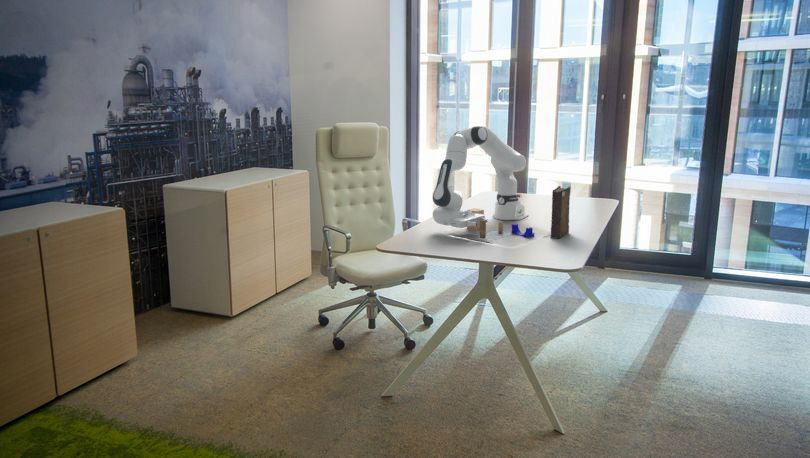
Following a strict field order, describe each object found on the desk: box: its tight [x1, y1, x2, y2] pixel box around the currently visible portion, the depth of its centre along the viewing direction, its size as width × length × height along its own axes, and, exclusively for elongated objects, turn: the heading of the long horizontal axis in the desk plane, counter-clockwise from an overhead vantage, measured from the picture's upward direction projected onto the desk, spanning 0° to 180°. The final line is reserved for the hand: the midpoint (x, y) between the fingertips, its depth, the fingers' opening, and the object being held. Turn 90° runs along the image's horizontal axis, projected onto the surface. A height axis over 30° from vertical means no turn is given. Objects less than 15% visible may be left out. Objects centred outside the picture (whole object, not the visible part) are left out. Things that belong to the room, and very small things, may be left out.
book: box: [550, 185, 571, 239], centre depth 331 cm, size 17×7×25 cm, turn 146°
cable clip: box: [511, 223, 535, 239], centre depth 330 cm, size 12×4×6 cm, turn 34°
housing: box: [466, 208, 485, 231], centre depth 346 cm, size 6×6×11 cm
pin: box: [479, 220, 487, 239], centre depth 322 cm, size 3×3×9 cm
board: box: [469, 220, 513, 244], centre depth 329 cm, size 22×12×7 cm, turn 138°
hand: (481, 222), depth 323 cm, fingers open, 8 cm apart
